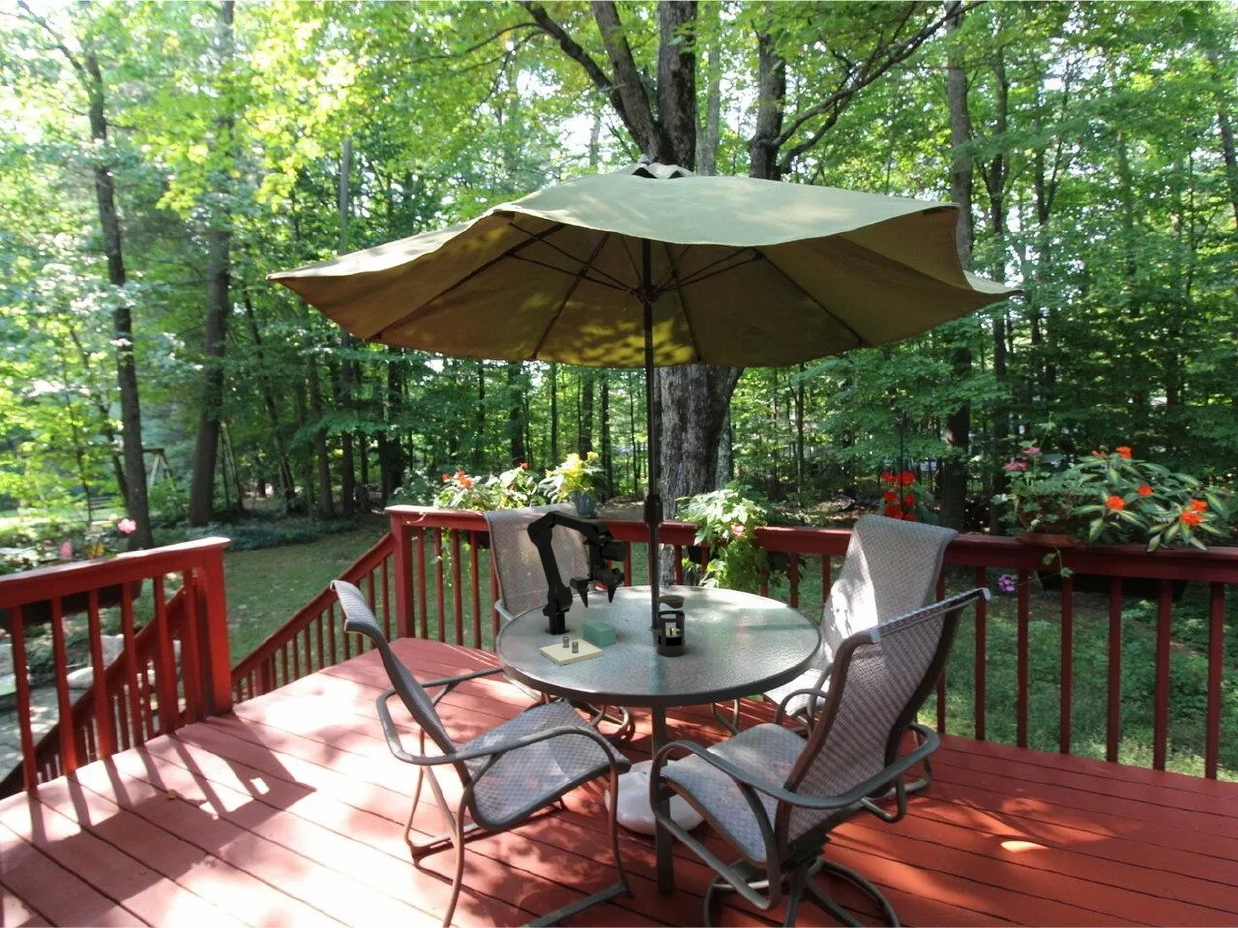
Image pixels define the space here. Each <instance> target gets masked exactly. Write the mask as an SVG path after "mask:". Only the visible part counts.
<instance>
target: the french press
mask: <svg viewBox="0 0 1238 928" xmlns="http://www.w3.org/2000/svg"><path fill="white" fill-rule="evenodd" d="M662 581H663V582H664V583H668V587H669V589H668V590H669V595H667V594H666V595H665V594H664V595H660V596H656V598H655V601H656V602H657V603H656V604H657V607H659V606H660V605H661V604H664V605H667V606H668V607H669V609H668V610H667V609H666V610H661V611H658V612H657V613H656V615H655V617H656V621H657V640H656V654H657V655H658V656H661V657H666V658H677V657H681V656H684V655H686V653H687V651H688V649H687V648H686V647H687V645H686V643H687V642H686V637H685V636H686V635H685V632H686V631H685V620H686V613H685V611H684V610H681V608H683V607H684V602H685V597H684V596H681V595H674V594H672V588H671V587H672V583H676V582H677V579H675V578H664V579H663V580H662ZM664 615H665V616H666V615H669V618H666V617H662V616H664ZM672 615H675V617H673V618H672ZM668 623H669V625H670V627H667V624H668ZM672 623H673V624H674V623H675V627H672Z"/></svg>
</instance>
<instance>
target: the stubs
mask: <svg viewBox="0 0 1238 928" xmlns="http://www.w3.org/2000/svg"><path fill="white" fill-rule="evenodd" d="M569 641H570V637H569V636H563V637H562V643H563V648H569ZM578 652H579V650H578V642H572V653H578Z"/></svg>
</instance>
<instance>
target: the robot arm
mask: <svg viewBox="0 0 1238 928" xmlns="http://www.w3.org/2000/svg"><path fill="white" fill-rule="evenodd" d="M557 525H558V526H561V527H565V528H568V529H570V530H573V531H575V532H576V531H577V532H579V533H580V534H581V535H582V536H583V537H584V538H586V539H585V540H584V541H583V542H582V545H584V546H587V549H588V560H587V561H586V565H588V572H587V573H586V575H587V576H586V577H588V578H586V577H583V576H574V577H571V578H570V580H569V586H566V585H565V584H564V583H563V580H562V577H561V574H560V570H559V567H558V564H557V559H556V556H555V554H554V549H553V546H552V540H553V529H554V528H555V527H556V526H557ZM526 533H527V535H528V538H529V539H530V541H531V543H533V545H534V546H535V547H536V548H537V552H538V555H539V559H540V562H541V566H542V568H543V569H542V570H543V572H544V575H545V580H546V583H547V587H548V589H547V590H548V591H547V595H546V598H547V604H546V605H545V606H544V607H543V608H542V610H541V612H542V614H543V617H548V628H545V629H544V630H545V632H547V633H549V634H550V635H553V636H555V635H558V634H564V633H568V632H570V629H569V628H567V627H566V613H568V612H570V610H571V607H572V605H573V604H574V600H573V598H574V596H573V593H572V589H571V588H573V589H574V590H576V592H577V593H578V594H579V597H580V599H581V601H582V603H583V605H584V607H585V608H586V609H588V608H589V596H588V595H589V594H588V592H589V591H590V588H588V587H589V585H591V584H596V583H600V584H601V585H602V586H604V587H606V590H607V599H608V603H609V604H612V602H613V600H614V597H615V594H616V592H617V588H618V587H620V586H621V585H622V584H623V582H626V581H627V578H626V574H625V572H623V571H621V568H620V567H614V568H610V565H609V562H608V561H611V562H620V563H624V562H625V561H626V559H627V556H628V549H627V546H626V545H625V544H624V540H621V539H620V540H616V538H615V537H614V535H613V533H612V531H611V530H610V528H609V526H608V525H607V522H606V521H605V520H603V519H596V518H595V519H594V518H593V519H590V518H589V519H586V518H582V517H579V516H575V515H573V514H570V513H566V512H562V511H560V510H558V509H555V510H550V511H548V512H546V513H545V514H544V515H543V516H542V517H539V518H538V519H536V520H535V521H532V522H529V524H528V525H527V527H526Z"/></svg>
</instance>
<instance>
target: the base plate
mask: <svg viewBox="0 0 1238 928" xmlns="http://www.w3.org/2000/svg"><path fill="white" fill-rule="evenodd" d="M572 642H578V650H579V652H578V653H572ZM540 653H542V654H543V655H545V656H546V657H548V658H549V659H548V658H547V659H548V660H550V659H551V660H552V661H551V660H550V661H551V662H553V661H554V662H555V663H554V662H553V663H554V664H556V663H557V664H558V665H557V664H556V665H557V666H559V665H563V666H565V665H564V664H567V665H570V664H569V663H571V664H574V663H578V661H579V662H583V661H587V660H591V659H594V658H595V659H596V658H597V657H603V656H604V651H603V650H602V649H600V648H599V647H596V646H595V645H593V644H591V643H590V642H587V641H586V640H584V639H582V638H577V639H575V640H569V648H563V642H561V643H558V644H557V643H556V644H552V645H548V646H544V647H543V646H542V647H540V648H539V654H540ZM542 654H541V655H542ZM543 655H542V656H543ZM545 656H544V657H545ZM546 657H545V658H546Z"/></svg>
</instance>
